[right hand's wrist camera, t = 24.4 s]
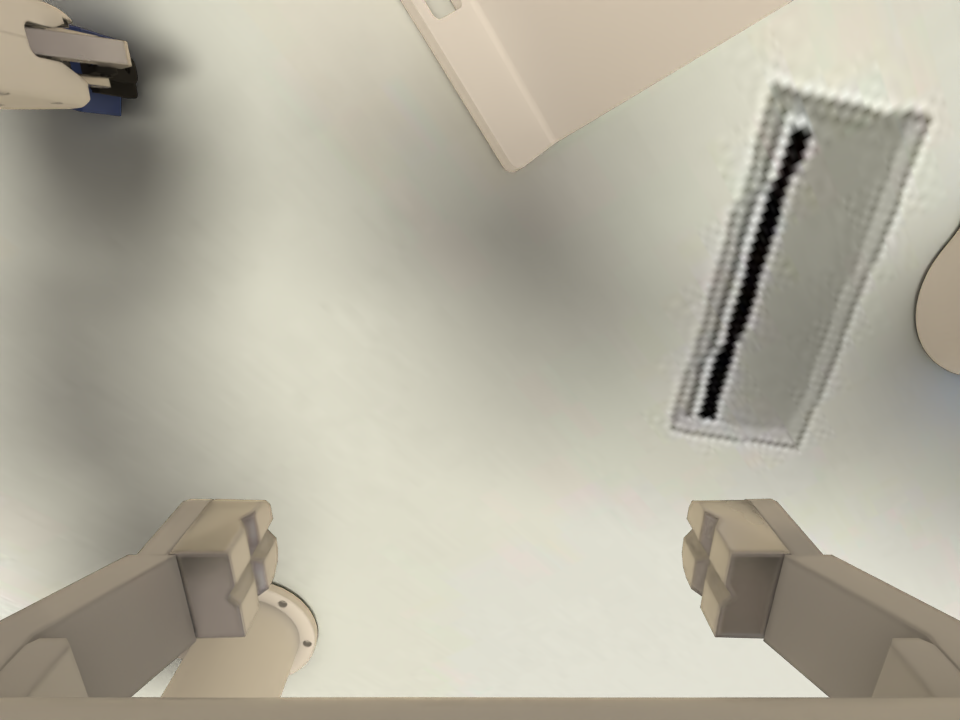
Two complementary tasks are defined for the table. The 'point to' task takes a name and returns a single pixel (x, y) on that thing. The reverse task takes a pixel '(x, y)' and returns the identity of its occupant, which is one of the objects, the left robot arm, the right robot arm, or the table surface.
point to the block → (97, 101)
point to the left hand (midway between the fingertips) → (85, 72)
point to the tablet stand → (568, 58)
